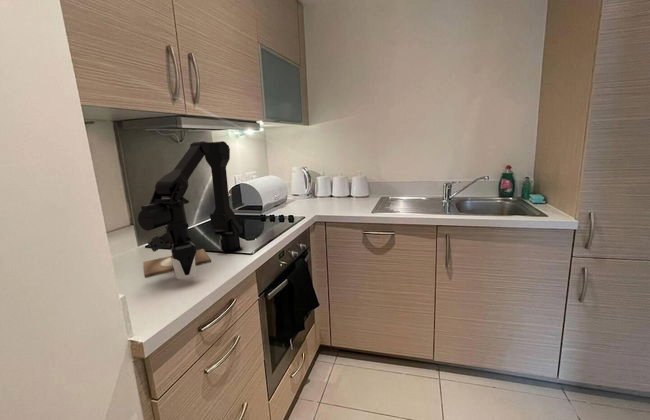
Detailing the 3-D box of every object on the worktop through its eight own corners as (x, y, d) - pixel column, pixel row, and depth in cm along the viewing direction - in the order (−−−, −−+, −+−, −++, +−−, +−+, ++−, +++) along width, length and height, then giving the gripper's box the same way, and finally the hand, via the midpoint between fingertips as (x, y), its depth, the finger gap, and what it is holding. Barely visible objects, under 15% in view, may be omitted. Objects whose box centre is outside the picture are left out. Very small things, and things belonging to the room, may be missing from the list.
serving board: (203, 251, 123) (203, 248, 122) (211, 261, 111) (210, 258, 110) (143, 264, 113) (143, 261, 113) (145, 277, 101) (144, 274, 101)
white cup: (169, 277, 100) (165, 256, 98) (189, 269, 105) (186, 249, 104) (183, 281, 96) (178, 259, 94) (202, 273, 101) (199, 251, 100)
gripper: (144, 220, 101) (154, 267, 104) (147, 233, 85) (158, 288, 88) (183, 214, 106) (191, 259, 110) (192, 225, 90) (200, 277, 94)
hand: (185, 270), depth 100 cm, fingers open, 9 cm apart
